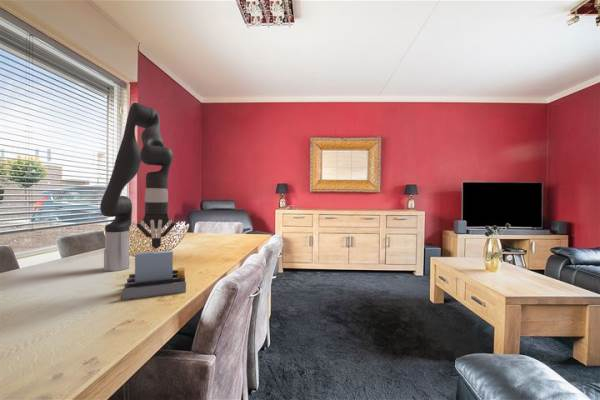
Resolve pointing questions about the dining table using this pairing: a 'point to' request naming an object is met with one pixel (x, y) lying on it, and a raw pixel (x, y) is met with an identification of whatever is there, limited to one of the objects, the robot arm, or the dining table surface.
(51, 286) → the dining table surface
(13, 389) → the dining table surface
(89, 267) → the dining table surface
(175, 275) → the rack
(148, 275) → the panel
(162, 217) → the robot arm
